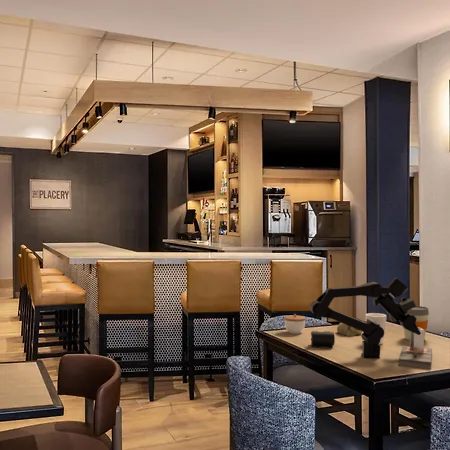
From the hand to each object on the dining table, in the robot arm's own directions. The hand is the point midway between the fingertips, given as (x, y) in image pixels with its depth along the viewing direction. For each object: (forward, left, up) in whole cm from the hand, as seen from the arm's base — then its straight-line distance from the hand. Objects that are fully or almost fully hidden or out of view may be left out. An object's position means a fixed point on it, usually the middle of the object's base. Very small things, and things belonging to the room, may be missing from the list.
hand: (415, 332), depth 232 cm
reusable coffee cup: (+10, +35, -11) cm, 38 cm away
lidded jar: (-47, +45, -11) cm, 66 cm away
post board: (-2, -6, -10) cm, 12 cm away
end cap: (-37, +16, -11) cm, 42 cm away
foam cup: (-11, +25, -10) cm, 29 cm away
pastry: (-20, +45, -11) cm, 50 cm away
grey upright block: (0, 0, -8) cm, 8 cm away
